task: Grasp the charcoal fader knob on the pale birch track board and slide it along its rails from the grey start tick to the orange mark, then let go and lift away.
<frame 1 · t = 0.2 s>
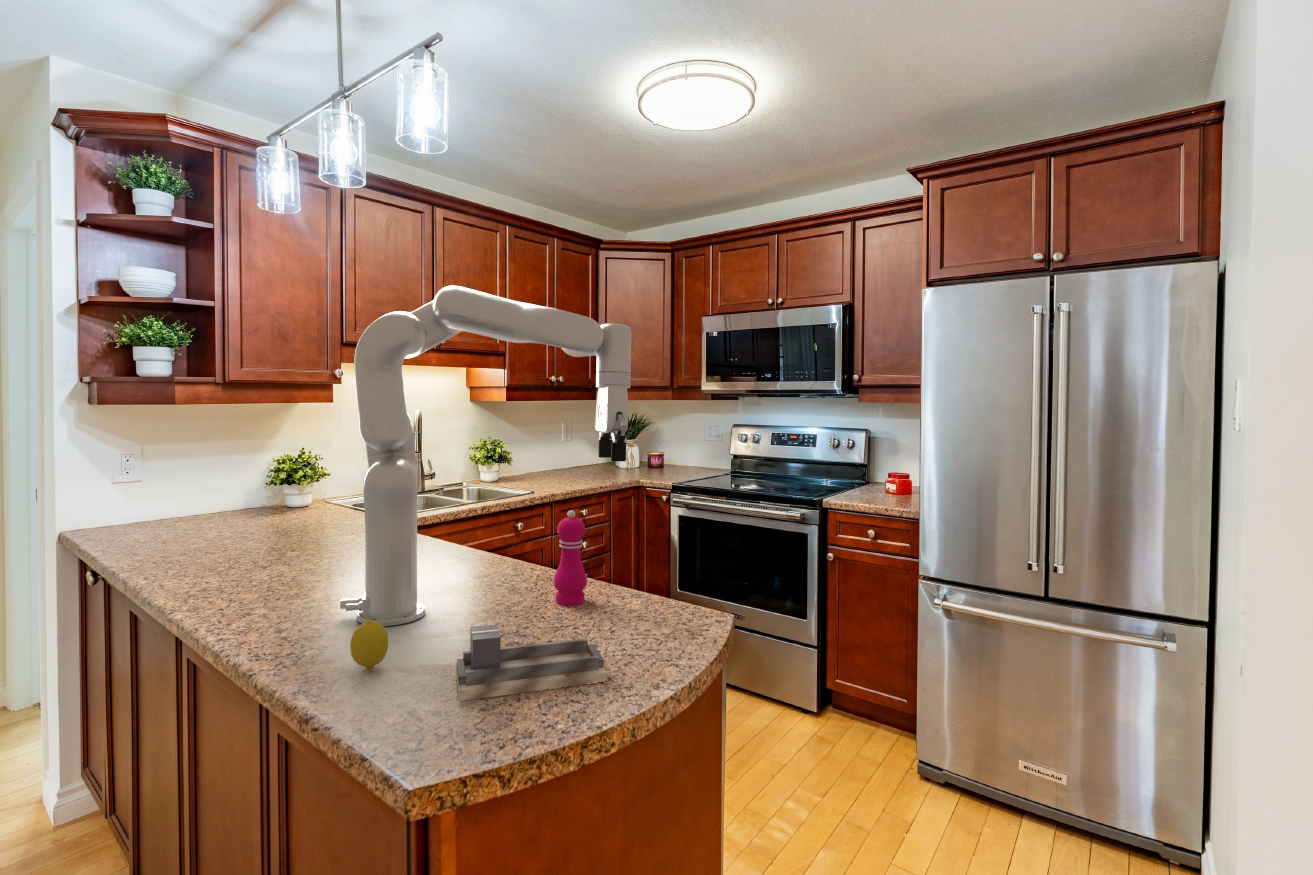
hand: (611, 459, 141), 31 cm above the counter, tool pointing down, fingers open, 9 cm apart
fader knob: (485, 650, 99), point 5 cm above the counter, slide at 0.0 cm
pepper mill: (570, 602, 140), on the counter
lemon: (369, 670, 102), on the counter
fader board: (530, 676, 101), on the counter
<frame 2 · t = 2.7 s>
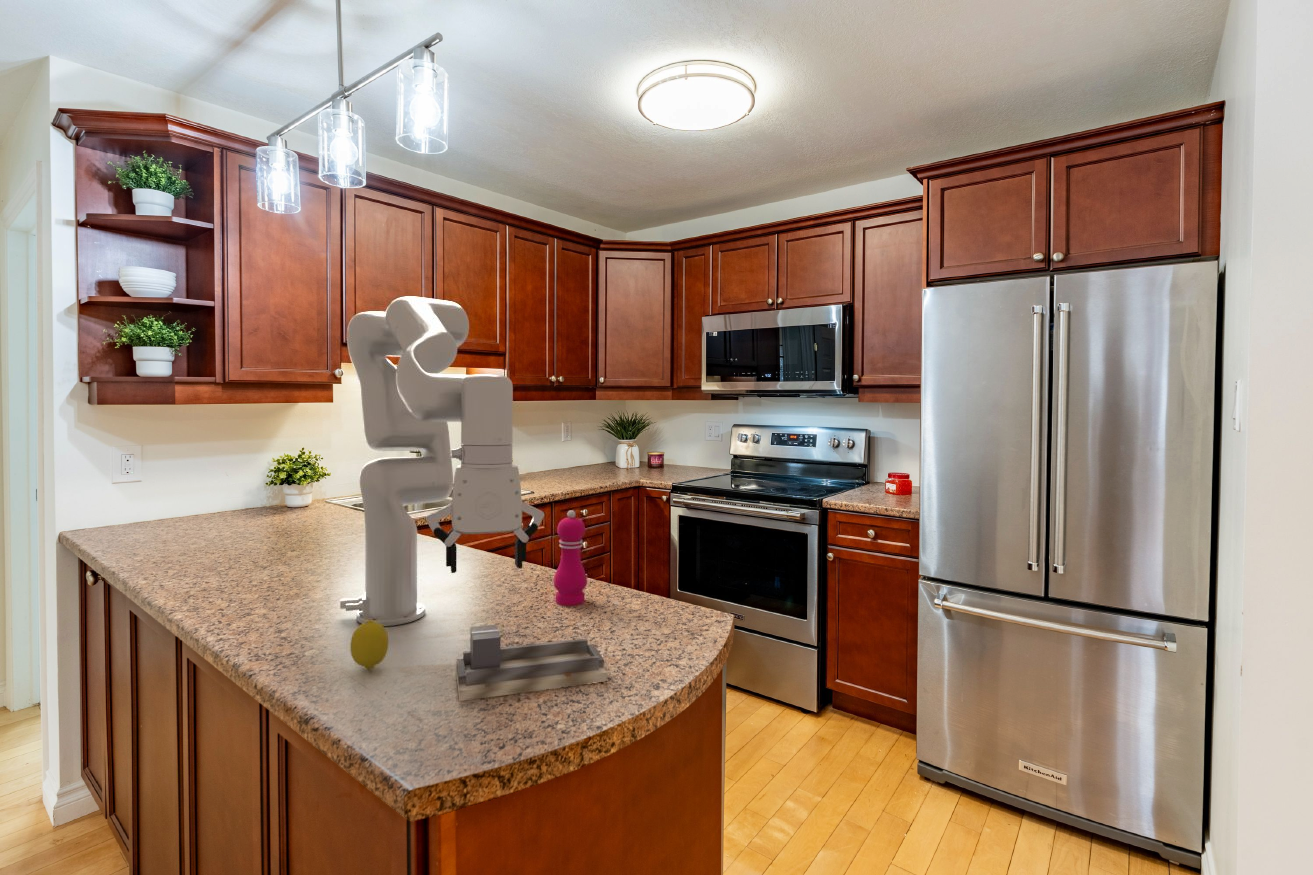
hand: (486, 568, 98), 18 cm above the counter, tool pointing down, fingers open, 9 cm apart
nothing on the counter moved.
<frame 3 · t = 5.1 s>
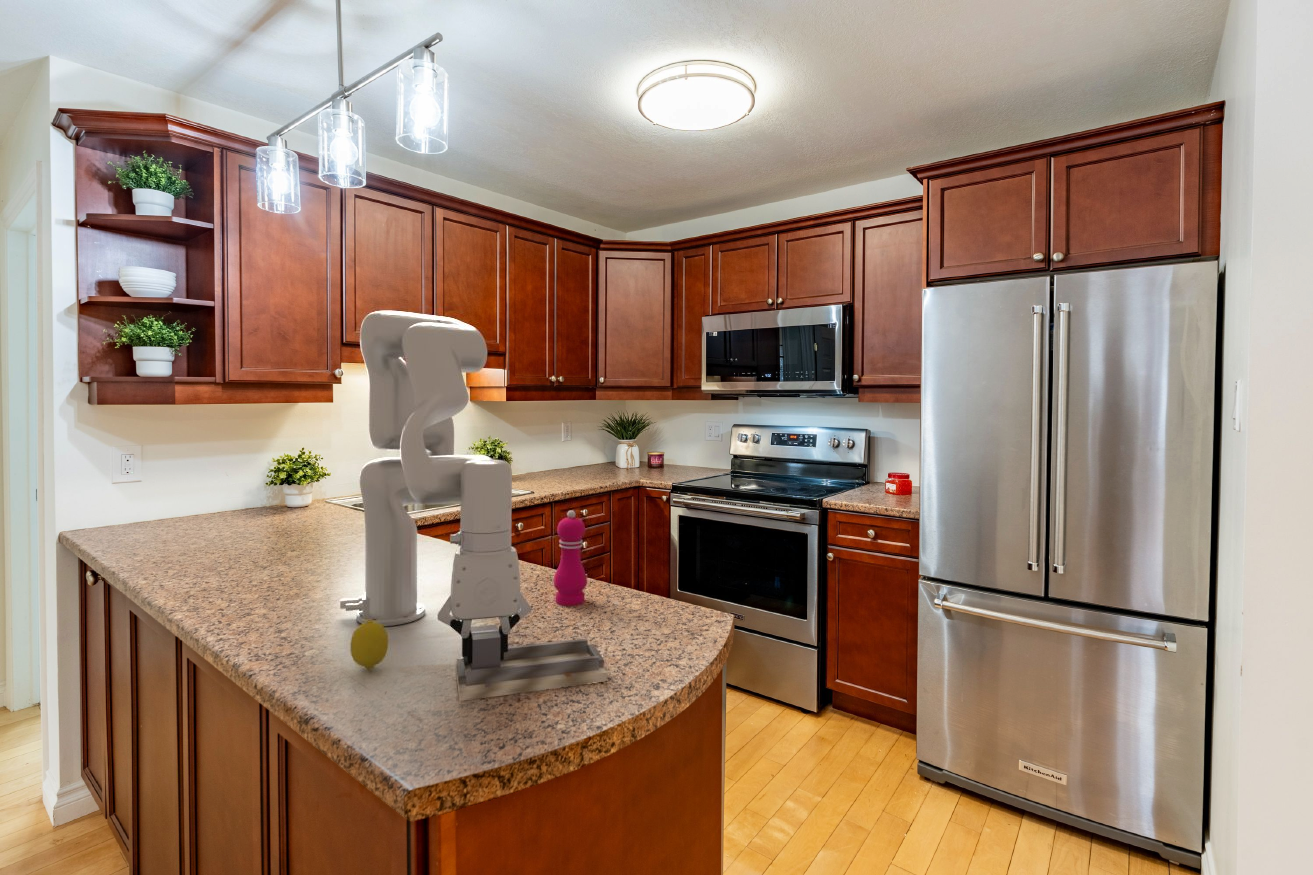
hand: (484, 657, 99), 4 cm above the counter, tool pointing down, fingers closed on fader knob, 4 cm apart
fader knob: (485, 650, 99), point 5 cm above the counter, slide at 0.0 cm, touching gripper
everything else where it was.
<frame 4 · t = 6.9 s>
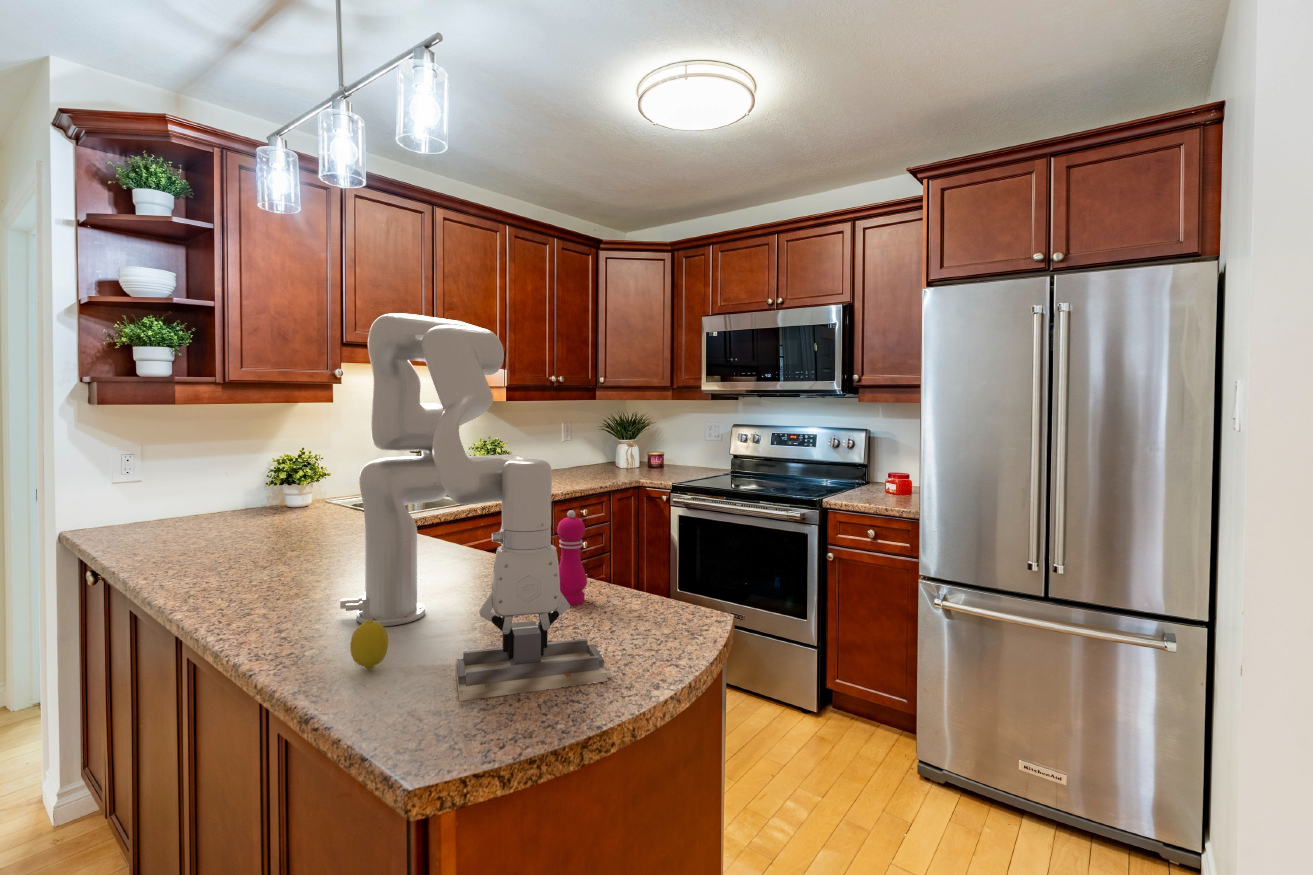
hand: (524, 653, 101), 4 cm above the counter, tool pointing down, fingers closed on fader knob, 4 cm apart
fader knob: (524, 646, 101), point 5 cm above the counter, slide at 6.1 cm, touching gripper
everything else where it was.
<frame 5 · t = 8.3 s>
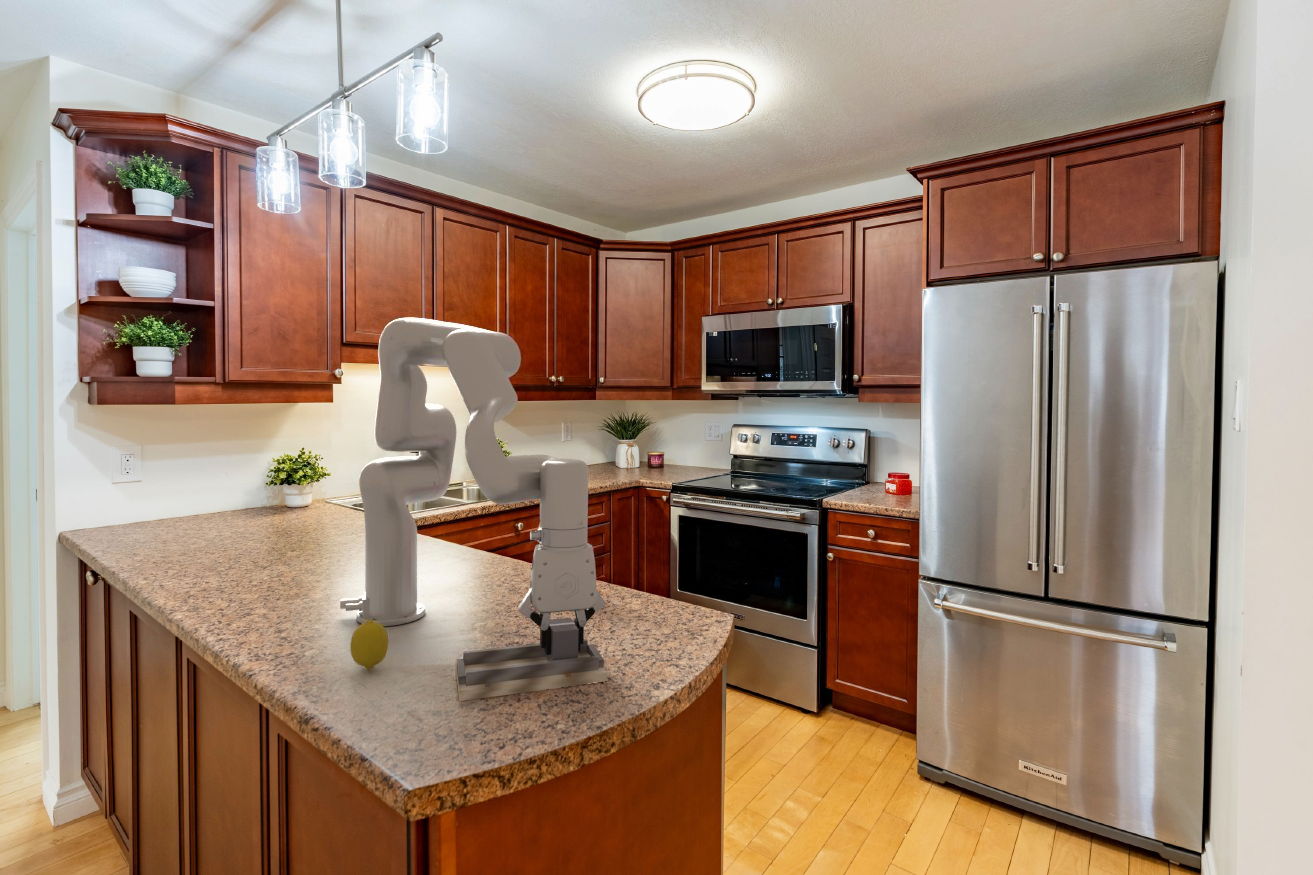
hand: (561, 649, 103), 4 cm above the counter, tool pointing down, fingers closed on fader knob, 4 cm apart
fader knob: (561, 642, 103), point 5 cm above the counter, slide at 11.9 cm, touching gripper
everything else where it was.
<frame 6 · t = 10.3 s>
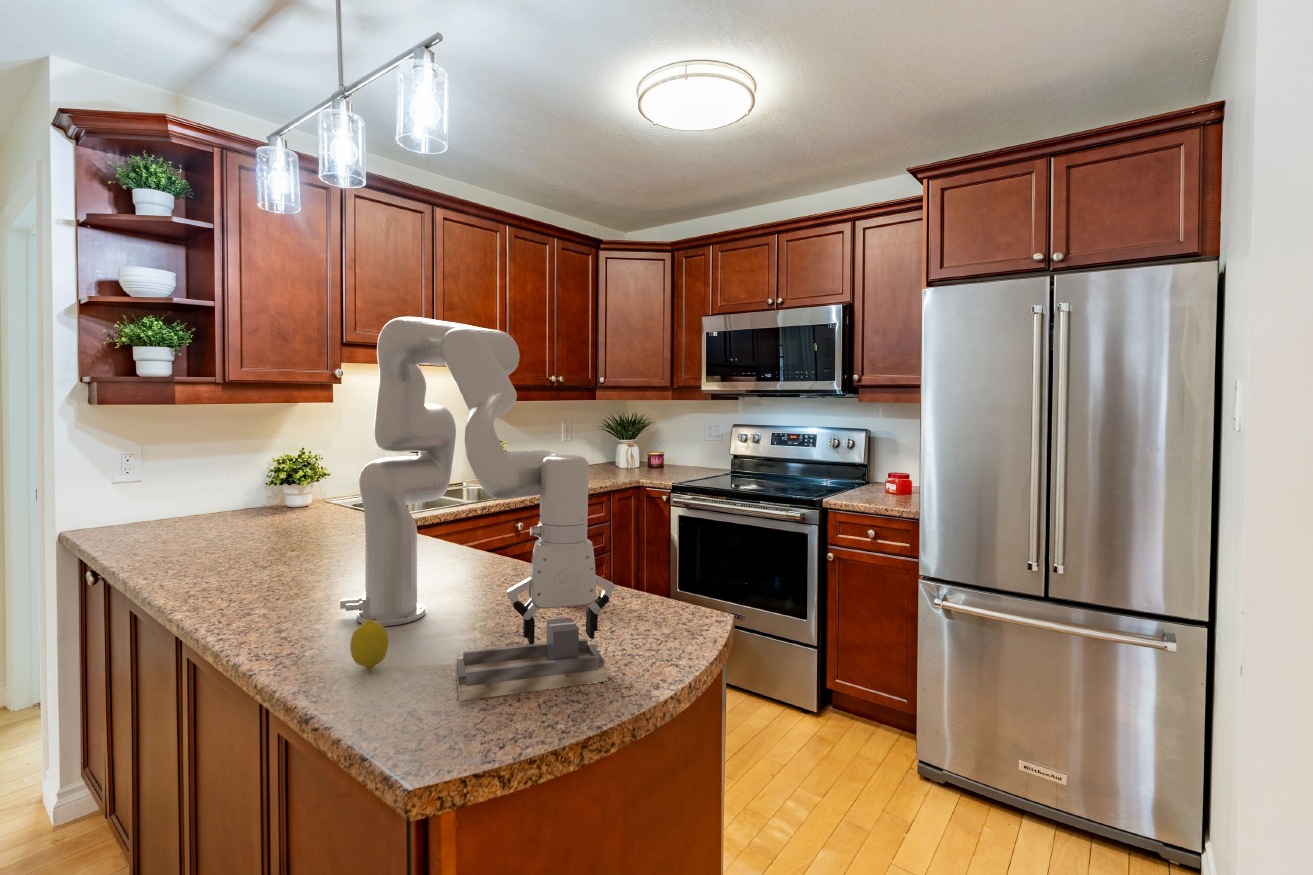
hand: (560, 638, 103), 5 cm above the counter, tool pointing down, fingers open, 9 cm apart
fader knob: (562, 642, 103), point 5 cm above the counter, slide at 12.0 cm
everything else where it was.
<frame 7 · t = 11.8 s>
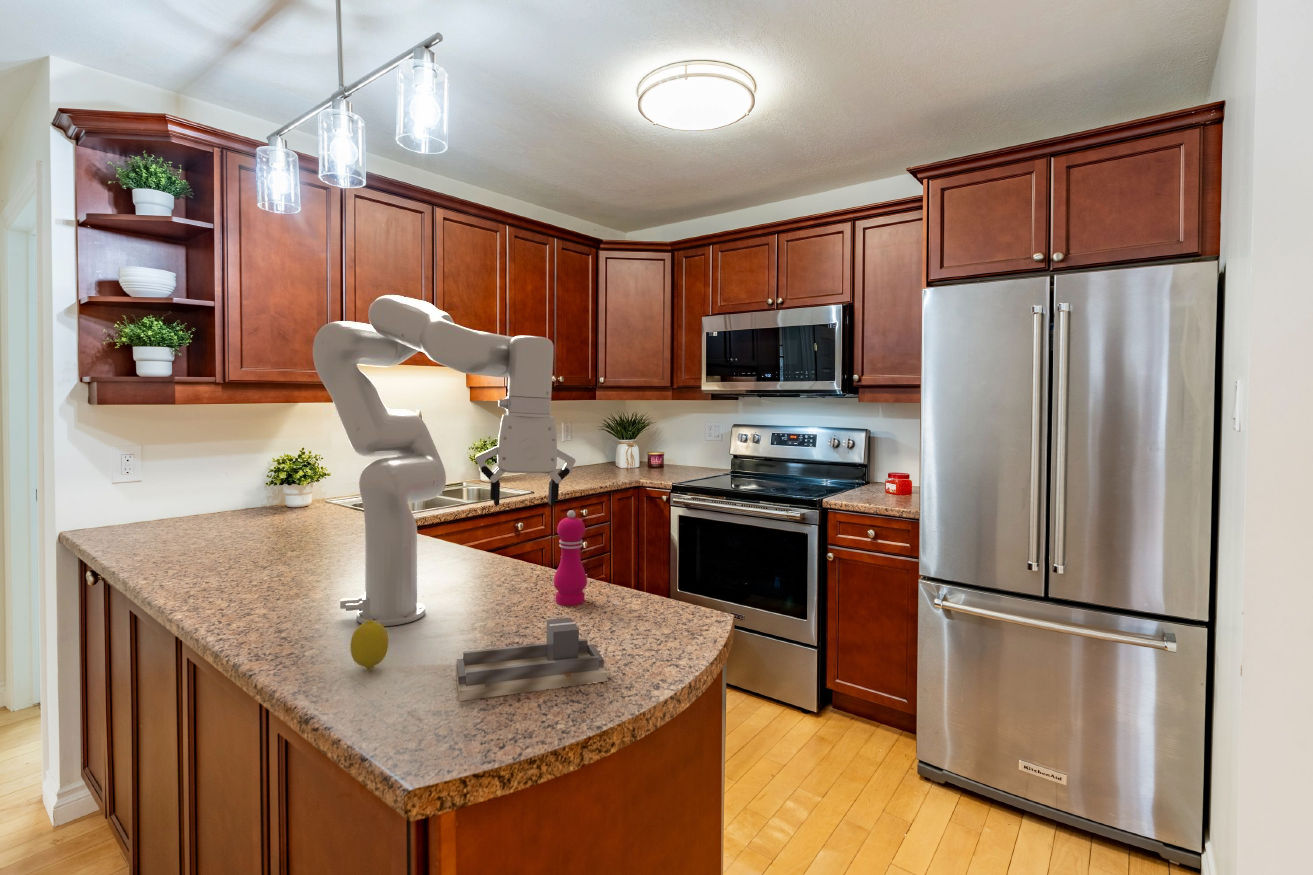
hand: (524, 504, 113), 25 cm above the counter, tool pointing down, fingers open, 9 cm apart
nothing on the counter moved.
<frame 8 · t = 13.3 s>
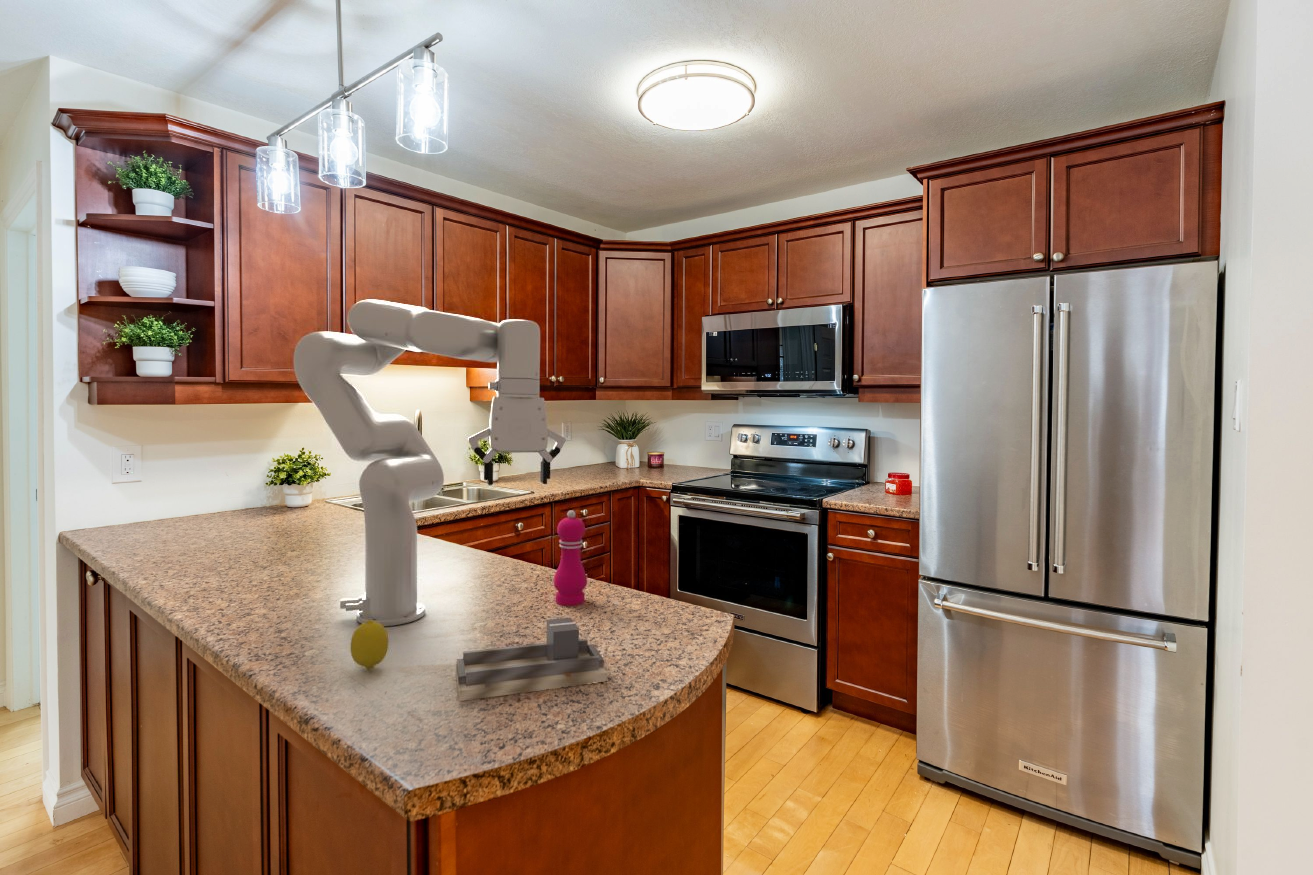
hand: (517, 483, 117), 28 cm above the counter, tool pointing down, fingers open, 9 cm apart
nothing on the counter moved.
at the end: fader knob slide at 12.0 cm; the gripper is holding nothing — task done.
